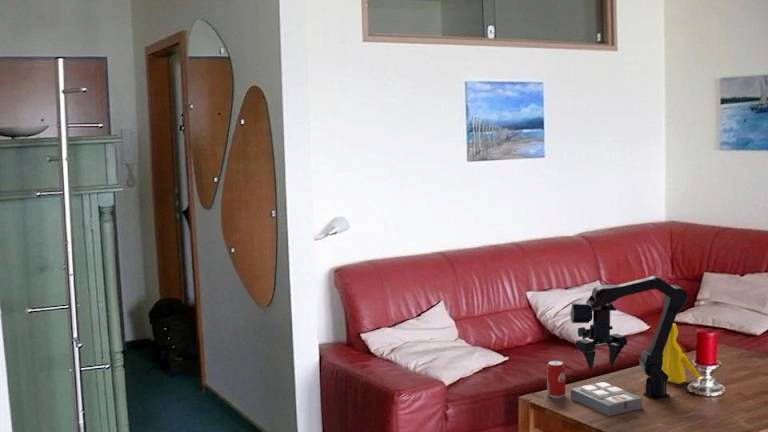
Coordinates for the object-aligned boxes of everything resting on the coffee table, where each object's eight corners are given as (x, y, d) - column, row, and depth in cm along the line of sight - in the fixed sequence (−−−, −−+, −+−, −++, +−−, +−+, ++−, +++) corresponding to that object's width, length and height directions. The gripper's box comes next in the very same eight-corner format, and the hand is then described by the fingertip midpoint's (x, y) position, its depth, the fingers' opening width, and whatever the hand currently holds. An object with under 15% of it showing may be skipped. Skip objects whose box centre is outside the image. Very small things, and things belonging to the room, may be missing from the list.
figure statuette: (703, 384, 298) (703, 324, 295) (691, 389, 293) (691, 328, 290) (659, 374, 312) (658, 316, 309) (647, 379, 307) (646, 320, 304)
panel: (603, 391, 295) (602, 381, 295) (642, 408, 277) (642, 397, 277) (570, 398, 289) (570, 387, 289) (608, 416, 271) (608, 404, 271)
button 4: (615, 393, 286) (615, 386, 286) (623, 396, 282) (623, 389, 282) (606, 395, 284) (606, 388, 284) (613, 399, 281) (613, 391, 280)
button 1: (590, 391, 289) (590, 384, 289) (597, 395, 285) (597, 388, 285) (580, 393, 287) (580, 386, 287) (588, 397, 284) (588, 390, 283)
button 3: (604, 388, 291) (603, 381, 291) (611, 392, 288) (611, 385, 287) (594, 390, 290) (594, 383, 289) (602, 394, 286) (602, 387, 286)
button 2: (601, 396, 283) (601, 389, 283) (609, 400, 280) (609, 392, 280) (592, 398, 282) (591, 391, 282) (599, 402, 278) (599, 394, 278)
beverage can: (565, 399, 289) (565, 365, 288) (547, 398, 291) (546, 365, 289) (565, 393, 295) (564, 360, 294) (547, 392, 297) (546, 359, 295)
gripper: (606, 314, 297) (605, 357, 299) (564, 321, 289) (564, 364, 291) (628, 321, 287) (627, 365, 289) (586, 328, 279) (585, 373, 281)
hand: (601, 366), depth 288 cm, fingers open, 9 cm apart
